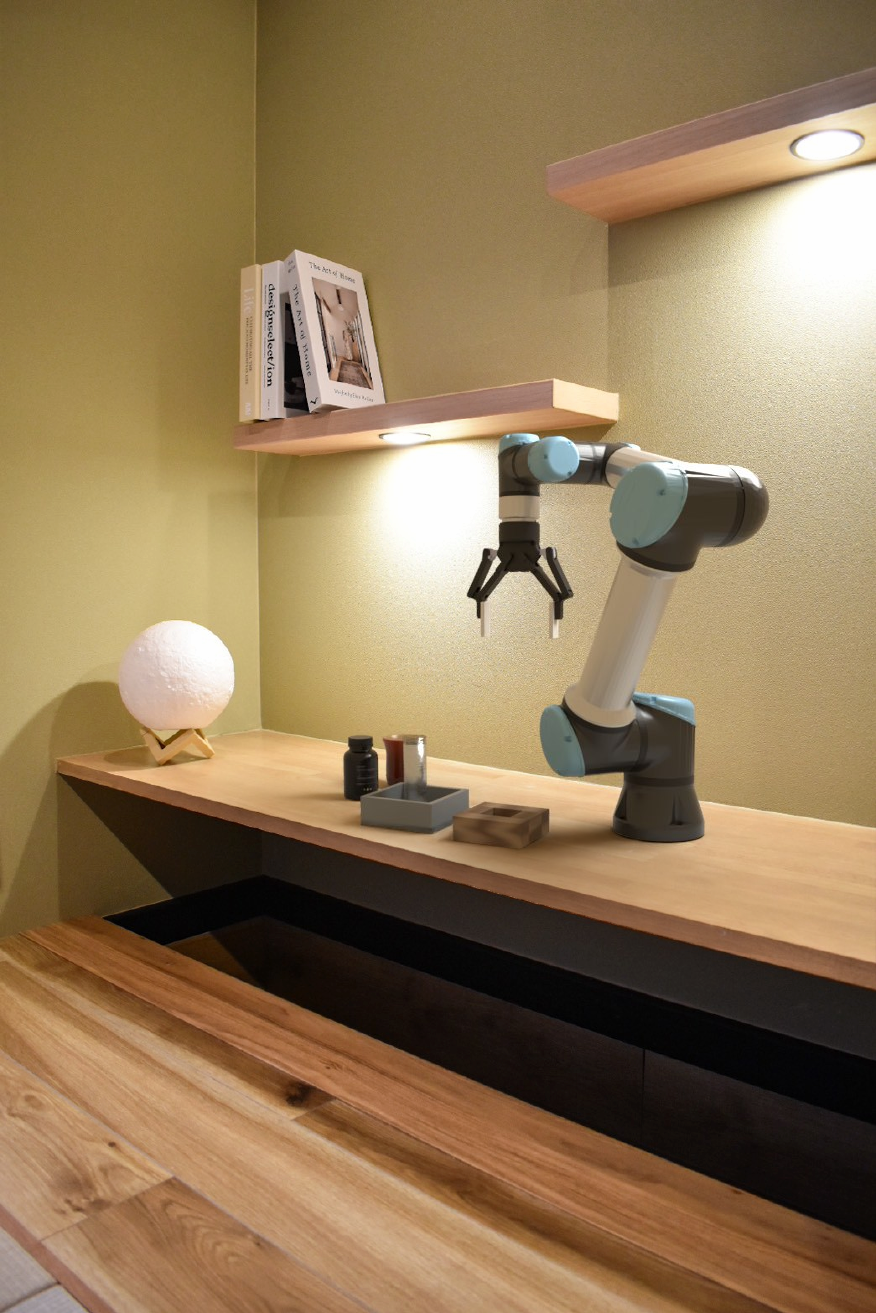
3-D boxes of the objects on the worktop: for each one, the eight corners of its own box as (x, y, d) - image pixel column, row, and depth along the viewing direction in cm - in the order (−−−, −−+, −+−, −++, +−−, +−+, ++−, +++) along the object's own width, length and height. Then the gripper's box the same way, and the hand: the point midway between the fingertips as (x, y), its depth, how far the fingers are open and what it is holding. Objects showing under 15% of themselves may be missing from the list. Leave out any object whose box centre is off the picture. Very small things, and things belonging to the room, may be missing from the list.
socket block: (549, 832, 170) (549, 808, 170) (520, 848, 160) (520, 823, 159) (484, 824, 176) (484, 801, 176) (452, 840, 165) (452, 815, 165)
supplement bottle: (338, 796, 200) (337, 735, 199) (370, 792, 203) (369, 733, 202) (351, 802, 194) (351, 740, 193) (384, 799, 197) (383, 737, 196)
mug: (431, 789, 206) (431, 739, 205) (390, 792, 203) (390, 741, 202) (412, 778, 217) (411, 730, 217) (372, 781, 214) (372, 733, 214)
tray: (468, 816, 182) (468, 789, 181) (431, 833, 170) (431, 804, 169) (401, 808, 188) (401, 782, 188) (360, 824, 176) (360, 796, 176)
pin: (431, 813, 180) (430, 735, 179) (420, 818, 176) (419, 738, 175) (411, 811, 182) (410, 734, 180) (400, 816, 178) (399, 737, 177)
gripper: (591, 519, 183) (590, 637, 184) (467, 524, 194) (467, 634, 196) (576, 517, 176) (576, 639, 178) (449, 522, 188) (449, 636, 189)
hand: (519, 637), depth 187 cm, fingers open, 13 cm apart
